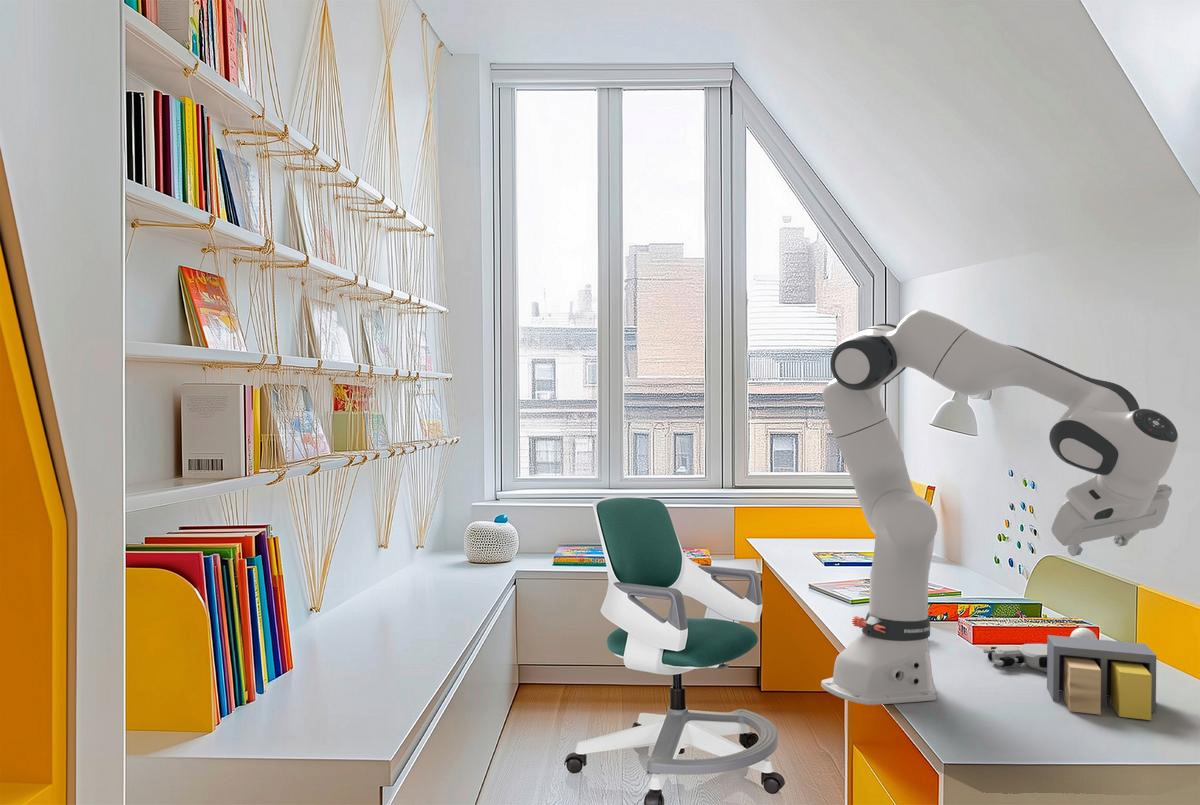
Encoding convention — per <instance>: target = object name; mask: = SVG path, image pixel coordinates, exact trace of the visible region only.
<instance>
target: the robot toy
mask: <svg viewBox="0 0 1200 805" xmlns="http://www.w3.org/2000/svg"><path fill="white" fill-rule="evenodd" d="M982 651H983V653H984V654H987V659H988V661H990V662H991V663H992V664H995V665H997V666H1000V667H1002V668H1003V669H1004V668H1005V669H1012V668H1014V667H1015V668H1016V667H1021V666H1022V665H1026V666H1028V667H1030V668H1033V669H1038V670H1039V671H1040V672H1043V673H1047V643H1024V644H1021V645H1020V646H1019V647H1017V646H1014V645H1013V646H1012V645H1011V646H1010V645H999V646H991V648H984V649H983V650H982Z"/></svg>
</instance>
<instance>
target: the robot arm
mask: <svg viewBox="0 0 1200 805" xmlns="http://www.w3.org/2000/svg"><path fill="white" fill-rule="evenodd" d="M907 368H909V369H910V368H911V369H914V370H916V371H919V372H920V373H922V374H924V375H926V376H927V377H929V379H932V380H933V381H935V382H936V383H938V384H939V385H941V386H943V387H945V389H948V390H950V391H952V392H955V393H957V394H959V395H964V396H973V395H974V396H976V395H981V394H986V393H987V392H990V391H993V390H997V389H1000V388H1005V387H1015V386H1016V387H1023V388H1027V389H1030V390H1031V391H1034V392H1036V393H1039V394H1040V395H1043V396H1045V397H1046V398H1049V399H1051V400H1053V401H1055V402H1057V403H1059V404H1061V405H1064V406H1065V407H1067V408H1068V409H1067V410H1066V411H1065V412H1064V413H1063V414H1062V415H1061V417H1059V419H1058V420H1057V422H1055V424H1054V425H1053V426H1052V427H1051V429H1050V431H1049V436H1048V437H1049V438H1048V439H1049V444H1050V446H1051V449H1052V451H1053V453H1054V454H1055V455H1056V456H1057V458H1059V459H1060V460H1061V461H1062V462H1064V463H1065V464H1067V465H1070V466H1072V467H1075V468H1077V469H1081V470H1083V471H1086V472H1089V473H1092V474H1094V475H1093V476H1092V477H1090V478H1088V479H1087V480H1085V481H1083V482H1081V483H1079V484H1076V485H1074V486H1072V487H1070V488H1069V489H1067V491H1066V493H1065V497H1066V498H1067V500H1065V502H1063V504H1062V505H1061V506H1060V507H1059V509H1058V511H1057V513H1056V516H1055V518H1054V520H1053V522H1052V525H1051V528H1050V530H1051V533H1052V535H1053V537H1054V538H1055V539H1056V540H1057V541H1058V542H1059V543H1060V545H1062V546H1065V547H1067V552H1068V553H1069V554H1070V556H1071V557H1076V556H1079V555H1080V556H1081V554H1082V552H1083V550H1084V549H1083V547H1082V546H1081V545H1082V543H1087V542H1092V541H1096V540H1101V539H1102V540H1103V539H1107V538H1111V537H1114V538H1113V540H1112V541H1113V543H1114V544H1116V546H1117V547H1119V548H1120V547H1123V546H1124V547H1125V546H1128V544H1129V541H1130V540H1131V539H1133V538H1134V537H1135V536H1137V535H1138V534H1139V533H1140V531H1145V530H1151V529H1156V528H1157V527H1159V526H1160V525H1161V524H1162V523H1163V522H1164V520H1165V518H1166V515H1167V513H1168V511H1169V510H1168V509H1169V506H1170V500H1169V499H1170V497H1171V496H1172V494H1173V490H1172V487H1171V486H1169V485H1167V484H1159V482H1160V480H1161V479H1162V478H1164V477H1165V476H1166V474H1167V472H1168V470H1169V468H1170V466H1171V464H1172V462H1173V459H1174V457H1175V454H1176V451H1177V447H1178V443H1179V434H1178V430H1177V428H1176V426H1175V424H1174V423H1173V422H1172V420H1170V419H1169V418H1168V417H1167V416H1165V415H1164V414H1163V413H1161V412H1158V411H1157V410H1153V409H1150V408H1149V409H1148V408H1140V406H1139V403H1138V401H1137V399H1136V398H1135V396H1134V395H1133V394H1132V392H1130V391H1129V390H1127V389H1126V388H1125V387H1123V386H1122V385H1120V384H1117V383H1114V382H1110V381H1107V380H1102V379H1096V378H1092V377H1090V376H1087V375H1084V374H1081V373H1080V372H1077V371H1075V370H1072V369H1070V368H1069V367H1066V366H1063V365H1062V364H1059V363H1057V362H1055V361H1052V360H1051V359H1048V358H1046V357H1045V356H1042V355H1039V354H1037V353H1035V352H1032V351H1029V350H1027V349H1025V348H1022V347H1018V346H1014V345H1009V344H1005V343H1001V342H998V341H996V340H995V341H994V340H992V339H989V338H987V337H985V336H983V335H980V334H978V333H977V332H975V331H972V330H971V329H969V328H967V327H965V326H963V325H962V324H960V323H958V322H955V321H954V320H951V319H950V318H948V317H945V316H944V315H943V316H942V315H941V314H937V313H934V312H932V311H929V310H924V309H918V310H914V311H911V312H909V313H908V314H907V315H905V316H904V317H903V318H902V319H901V320H900V321H899V322H898V323H897V325H896V324H892V323H880V324H876V325H873V326H869V327H865V328H862V329H860V330H859V331H857V332H855V334H853V335H850V336H847V337H846V338H844V339H843V340H842V341H840V342H839V344H837V346H836V347H835V348H834V350H833V352H832V354H831V357H830V370H831V373H832V375H833V377H834V378H833V379H832V380H829V382H828V383H827V384H826V385H825V387H824V388H823V391H822V401H823V405H824V406H823V407H824V410H825V414H826V418H827V421H828V424H829V426H830V430H831V432H832V434H833V437H834V438H835V442H836V445H837V446H838V450H839V451H840V454H841V456H842V460H843V462H844V463H845V466H846V468H847V470H848V473H849V474H850V479H851V481H852V485H853V487H854V490H855V493H856V496H857V499H858V502H859V504H860V508H861V510H862V512H863V516H864V517H865V521H866V523H867V525H868V527H869V529H870V530H871V531H872V533H874V535H875V537H874V538H875V541H874V549H873V557H872V563H871V564H872V565H871V569H870V572H869V608H868V609H869V611H868V612H867V614H866V617H865V618H864V617H860V616H858V615H854V616H853V617H852V621H851V622H852V623H851V624H852V625H853V627H856V628H857V627H858V628H859V629H861V633H860V634H859V635H858V636H857V637H856V638H855V639H854V640H853V641H852V642H851V643H850V644H849V645H847V647H845V648H844V649H843V650H842V651H841V652H840V653H839V654H838V655H837V656H836V657H835V658H836V659H835V662H834V666H833V674H832V675H833V676H832V677H829V678H825V679H822V680H821V681H820V686H821V687H822V689H823V690H825V691H826V692H827V693H829V694H832V695H833V696H836V697H838V698H840V699H844V700H846V701H849V702H853V703H856V704H861V705H865V706H866V705H867V706H876V705H887V704H888V705H889V704H901V703H915V702H927V701H928V702H929V701H936V700H937V695H936V691H937V689H936V686H935V681H934V678H933V671H932V661H931V653H930V648H929V638H930V636H931V619H930V616H929V614H928V613H929V579H930V578H929V577H930V569H931V564H932V558H933V552H934V545H935V538H936V537H935V536H936V533H937V531H938V519H937V516H936V513H935V511H934V509H933V507H932V505H931V504H930V503H929V502H928V501H927V500H926V499H925V498H923V497H922V496H920V495H917V493H916V492H915V490H914V486H913V484H912V481H911V478H910V476H909V472H908V469H907V464H906V461H905V455H904V451H903V450H902V447H901V444H900V443H899V440H898V438H897V435H896V433H895V430H894V429H893V426H892V424H891V422H890V419H889V417H888V415H887V413H886V410H885V408H884V405H883V403H882V401H881V395H880V393H881V388H882V386H883V385H888V384H889V383H890V382H891V381H893V379H894V378H896V377H897V376H899V375H900V374H901V373H903V372H904V371H905V370H906V369H907Z"/></svg>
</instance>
